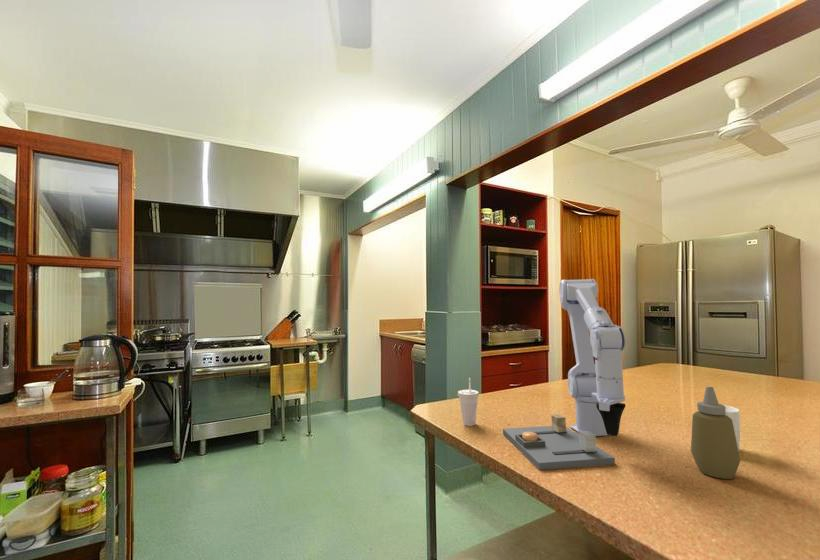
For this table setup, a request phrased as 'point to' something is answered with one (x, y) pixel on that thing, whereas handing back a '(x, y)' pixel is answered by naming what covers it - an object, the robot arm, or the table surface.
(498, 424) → the table surface
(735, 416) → the white cup
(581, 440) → the metal slider
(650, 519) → the table surface
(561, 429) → the birch slider
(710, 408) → the squeeze bottle
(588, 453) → the control board
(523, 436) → the orange button
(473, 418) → the smoothie
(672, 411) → the table surface
